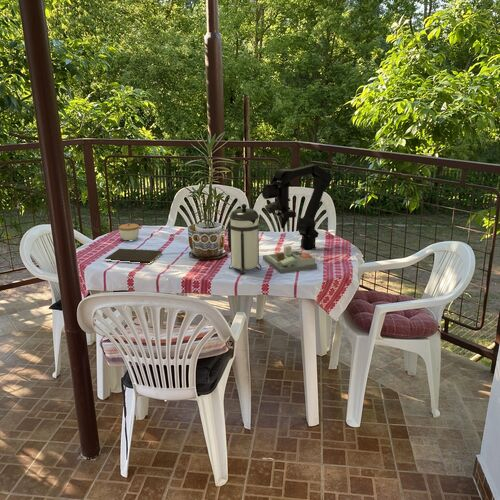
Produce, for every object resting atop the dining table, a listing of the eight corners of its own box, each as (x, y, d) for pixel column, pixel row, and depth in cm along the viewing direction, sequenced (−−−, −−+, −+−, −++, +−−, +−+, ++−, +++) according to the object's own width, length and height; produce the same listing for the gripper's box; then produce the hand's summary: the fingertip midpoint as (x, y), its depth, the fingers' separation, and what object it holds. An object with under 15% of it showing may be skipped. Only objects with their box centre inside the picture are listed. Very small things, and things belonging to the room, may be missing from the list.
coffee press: (265, 263, 240) (264, 200, 231) (257, 275, 225) (257, 208, 216) (229, 261, 244) (227, 199, 235) (219, 273, 229) (217, 206, 220)
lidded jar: (137, 242, 276) (136, 225, 274) (117, 242, 277) (116, 225, 274) (141, 237, 287) (140, 220, 284) (122, 237, 287) (121, 220, 284)
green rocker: (292, 258, 233) (291, 256, 232) (295, 260, 230) (295, 258, 229) (280, 263, 231) (279, 261, 231) (283, 265, 228) (282, 263, 228)
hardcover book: (119, 252, 261) (119, 248, 261) (162, 255, 257) (162, 250, 256) (105, 263, 246) (104, 258, 246) (150, 265, 242) (150, 261, 241)
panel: (297, 255, 252) (297, 245, 250) (317, 268, 233) (317, 257, 232) (262, 259, 246) (262, 249, 245) (280, 273, 227) (280, 262, 226)
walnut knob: (282, 260, 238) (282, 252, 237) (284, 262, 236) (284, 253, 235) (276, 261, 237) (276, 252, 236) (278, 262, 235) (278, 254, 234)
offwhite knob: (289, 253, 247) (289, 245, 246) (291, 255, 245) (291, 247, 244) (283, 254, 246) (283, 246, 245) (285, 256, 244) (285, 247, 243)
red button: (307, 260, 237) (307, 253, 236) (311, 262, 233) (311, 255, 232) (299, 261, 235) (299, 254, 234) (303, 264, 232) (303, 256, 231)
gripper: (259, 194, 251) (260, 225, 256) (274, 201, 235) (274, 234, 239) (281, 192, 255) (280, 223, 260) (296, 199, 238) (296, 232, 243)
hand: (282, 228), depth 250 cm, fingers closed
